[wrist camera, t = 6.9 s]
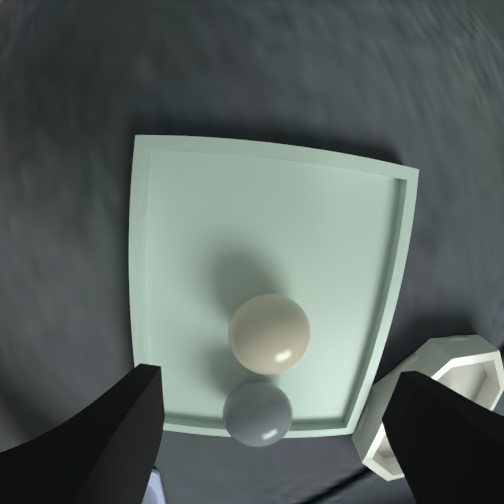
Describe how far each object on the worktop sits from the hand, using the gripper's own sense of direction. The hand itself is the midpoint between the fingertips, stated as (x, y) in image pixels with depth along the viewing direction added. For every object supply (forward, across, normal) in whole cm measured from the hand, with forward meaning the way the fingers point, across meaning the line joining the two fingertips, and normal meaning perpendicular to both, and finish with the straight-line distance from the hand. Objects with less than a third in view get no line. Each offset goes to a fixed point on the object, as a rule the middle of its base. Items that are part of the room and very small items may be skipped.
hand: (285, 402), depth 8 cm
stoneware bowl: (+7, -12, +7) cm, 16 cm away
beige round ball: (+6, 0, 0) cm, 6 cm away
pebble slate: (+6, 0, +5) cm, 8 cm away
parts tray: (+7, 0, 0) cm, 7 cm away
